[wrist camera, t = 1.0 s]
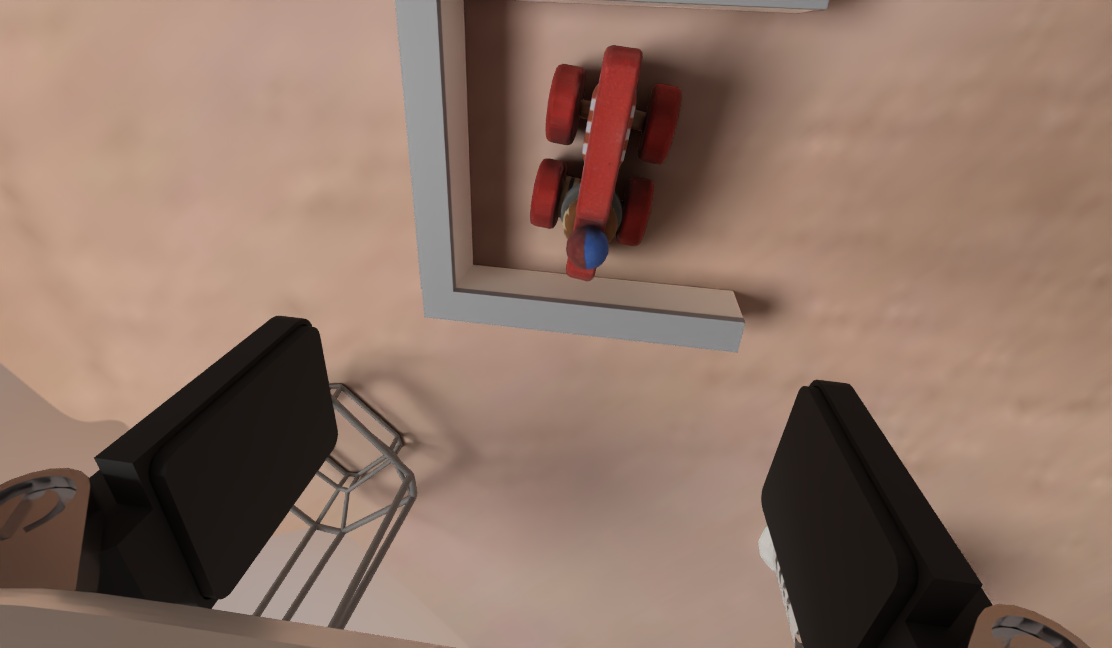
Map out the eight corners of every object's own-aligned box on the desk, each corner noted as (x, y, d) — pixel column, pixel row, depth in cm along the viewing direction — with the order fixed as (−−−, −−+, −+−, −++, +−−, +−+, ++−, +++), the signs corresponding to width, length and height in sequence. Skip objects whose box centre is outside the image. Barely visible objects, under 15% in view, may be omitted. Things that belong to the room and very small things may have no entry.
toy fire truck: (532, 238, 35) (494, 306, 26) (567, 32, 29) (533, 26, 20) (632, 261, 35) (629, 338, 26) (689, 58, 28) (712, 65, 19)
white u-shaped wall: (810, -35, 26) (841, -49, 22) (726, 317, 35) (737, 352, 31) (425, -49, 28) (388, -64, 24) (446, 288, 37) (423, 317, 34)
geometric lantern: (338, 327, 41) (-491, 1171, 10) (468, 454, 46) (164, 1265, 16) (230, 410, 47) (-497, 1100, 16) (355, 514, 52) (-21, 1185, 22)
